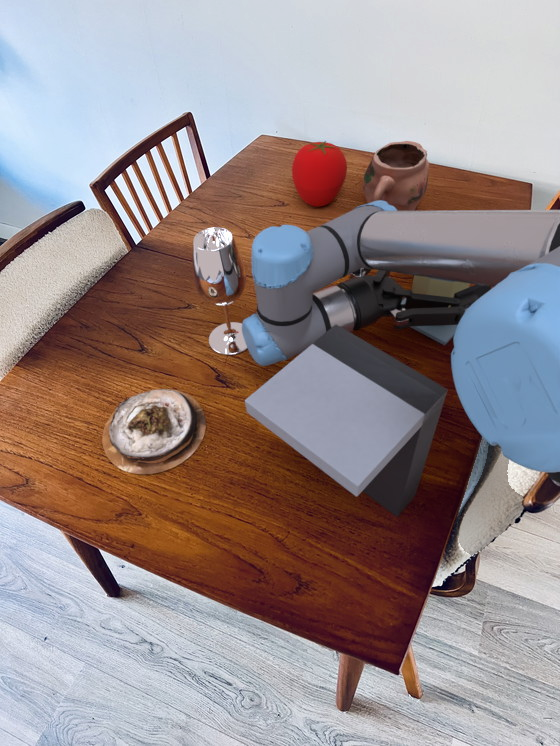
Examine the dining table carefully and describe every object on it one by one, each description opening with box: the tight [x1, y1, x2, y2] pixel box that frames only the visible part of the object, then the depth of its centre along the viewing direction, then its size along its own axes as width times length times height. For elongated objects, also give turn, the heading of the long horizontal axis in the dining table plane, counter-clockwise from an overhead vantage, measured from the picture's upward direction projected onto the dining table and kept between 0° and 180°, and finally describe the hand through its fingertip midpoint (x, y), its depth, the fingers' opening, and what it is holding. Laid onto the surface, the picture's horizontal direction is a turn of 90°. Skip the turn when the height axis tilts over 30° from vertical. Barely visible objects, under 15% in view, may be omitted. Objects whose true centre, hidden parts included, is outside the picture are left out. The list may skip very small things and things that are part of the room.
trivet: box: [401, 297, 468, 346], centre depth 88 cm, size 11×11×1 cm
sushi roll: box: [101, 388, 207, 475], centre depth 74 cm, size 15×15×4 cm
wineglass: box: [192, 226, 248, 356], centre depth 80 cm, size 8×8×20 cm
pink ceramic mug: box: [362, 140, 431, 211], centre depth 102 cm, size 20×12×14 cm, turn 155°
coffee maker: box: [244, 324, 448, 518], centre depth 59 cm, size 14×14×22 cm
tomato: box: [291, 140, 348, 208], centre depth 108 cm, size 11×11×13 cm
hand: (460, 262), depth 82 cm, fingers open, 13 cm apart
